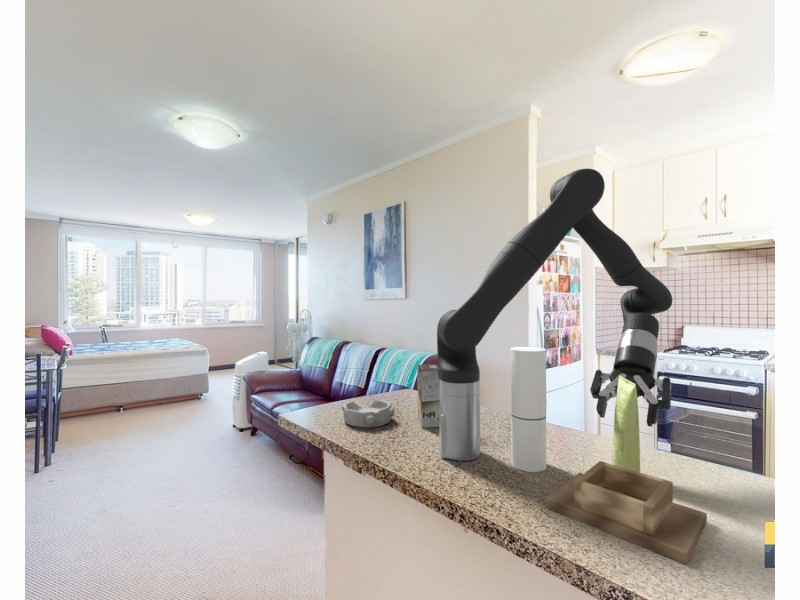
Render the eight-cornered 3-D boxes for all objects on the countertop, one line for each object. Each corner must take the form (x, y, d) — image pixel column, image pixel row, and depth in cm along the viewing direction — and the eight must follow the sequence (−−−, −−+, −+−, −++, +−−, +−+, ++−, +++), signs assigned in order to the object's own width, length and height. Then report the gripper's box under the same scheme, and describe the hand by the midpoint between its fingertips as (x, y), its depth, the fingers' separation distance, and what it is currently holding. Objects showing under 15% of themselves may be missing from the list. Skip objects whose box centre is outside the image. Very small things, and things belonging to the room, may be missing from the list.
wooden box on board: (545, 507, 68) (545, 475, 68) (579, 480, 77) (579, 452, 77) (686, 564, 53) (686, 524, 53) (706, 522, 63) (706, 488, 63)
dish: (336, 419, 117) (336, 403, 117) (376, 411, 125) (376, 396, 125) (358, 433, 105) (358, 415, 105) (401, 424, 112) (401, 406, 112)
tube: (648, 477, 78) (648, 380, 78) (635, 485, 75) (635, 383, 75) (619, 467, 83) (619, 375, 82) (606, 473, 80) (606, 378, 80)
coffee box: (444, 427, 109) (443, 369, 109) (421, 428, 108) (420, 370, 108) (438, 416, 118) (437, 363, 118) (417, 417, 118) (416, 364, 117)
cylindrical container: (545, 460, 87) (545, 347, 86) (546, 474, 80) (546, 352, 80) (512, 456, 89) (511, 346, 89) (510, 469, 82) (509, 350, 82)
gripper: (597, 341, 89) (582, 403, 80) (673, 346, 80) (665, 416, 71) (603, 361, 93) (589, 422, 84) (676, 368, 84) (669, 437, 75)
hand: (624, 419), depth 78 cm, fingers open, 8 cm apart
